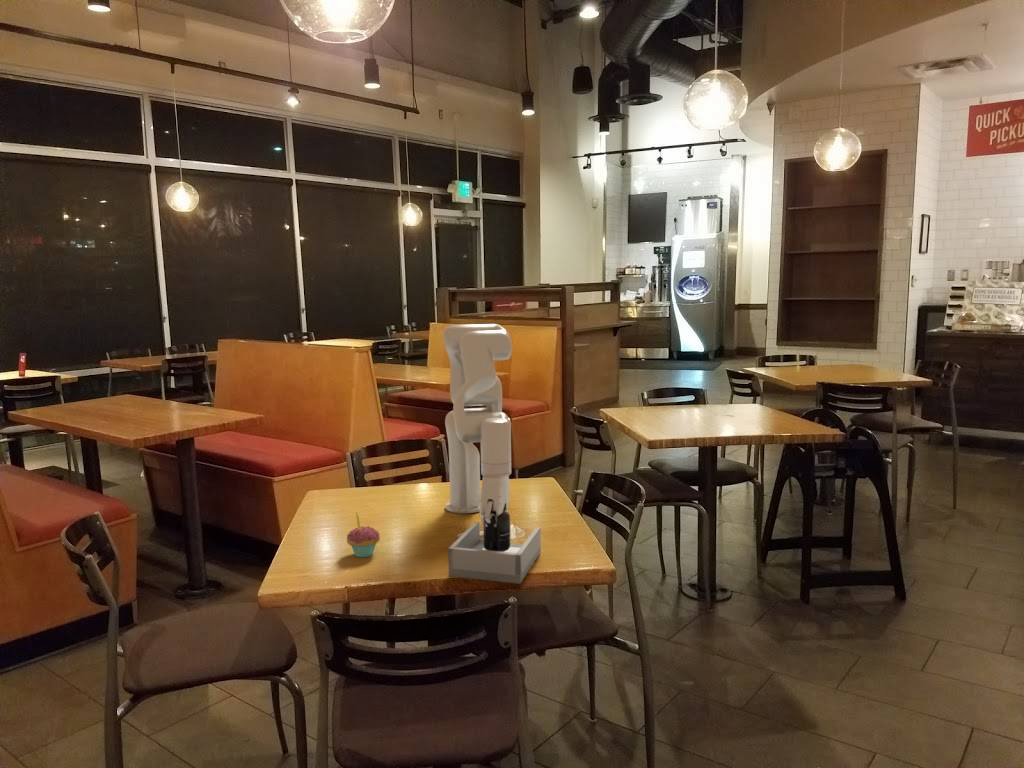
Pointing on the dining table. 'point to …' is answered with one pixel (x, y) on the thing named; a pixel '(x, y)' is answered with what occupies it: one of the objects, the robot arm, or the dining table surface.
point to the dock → (492, 557)
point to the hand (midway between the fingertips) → (497, 535)
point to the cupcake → (363, 540)
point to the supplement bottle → (503, 533)
